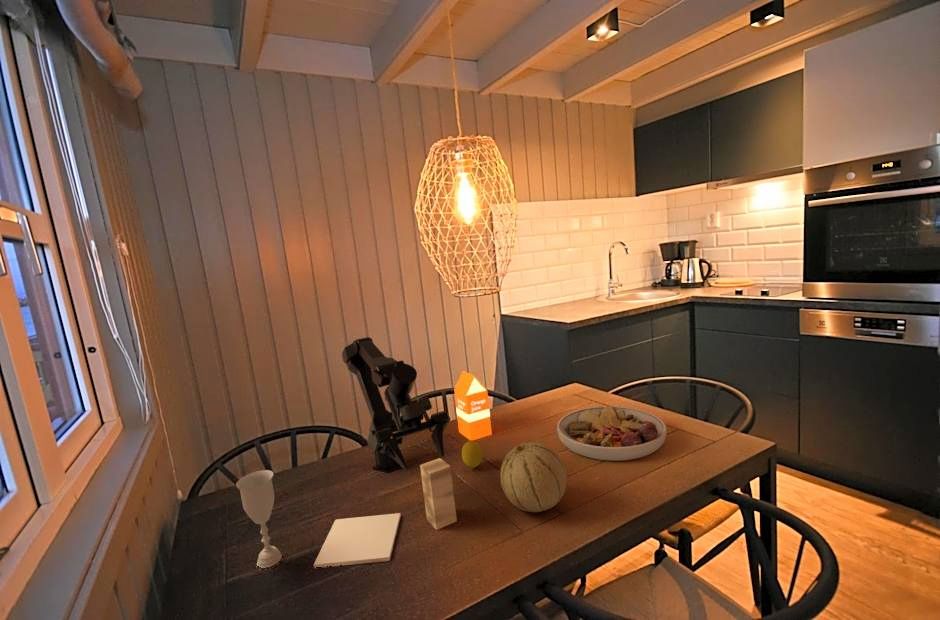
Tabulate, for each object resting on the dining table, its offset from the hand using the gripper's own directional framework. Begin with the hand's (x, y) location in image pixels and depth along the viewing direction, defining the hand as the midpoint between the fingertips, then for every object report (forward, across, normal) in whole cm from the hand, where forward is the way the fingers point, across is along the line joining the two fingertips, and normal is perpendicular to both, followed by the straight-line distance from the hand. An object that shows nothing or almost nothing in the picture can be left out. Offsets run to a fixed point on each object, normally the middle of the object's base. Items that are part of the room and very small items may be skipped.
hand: (425, 463), depth 105 cm
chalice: (+5, -34, +12) cm, 37 cm away
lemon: (+1, +18, +15) cm, 23 cm away
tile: (+9, -17, +8) cm, 20 cm away
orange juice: (-13, +30, +29) cm, 44 cm away
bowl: (+10, +57, +7) cm, 58 cm away
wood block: (+12, 0, +4) cm, 13 cm away
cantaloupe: (+19, +19, -2) cm, 27 cm away
